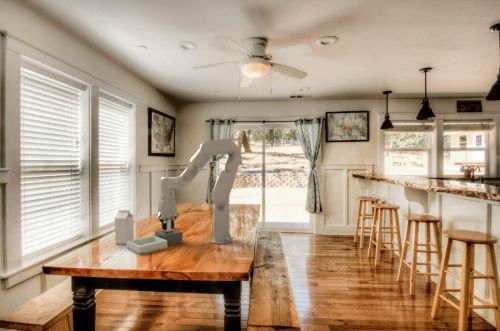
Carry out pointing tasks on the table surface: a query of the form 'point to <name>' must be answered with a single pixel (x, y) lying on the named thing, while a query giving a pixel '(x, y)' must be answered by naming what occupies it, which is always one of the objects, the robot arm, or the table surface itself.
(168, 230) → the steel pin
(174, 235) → the hitch block
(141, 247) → the tray
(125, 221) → the milk carton
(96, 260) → the table surface
